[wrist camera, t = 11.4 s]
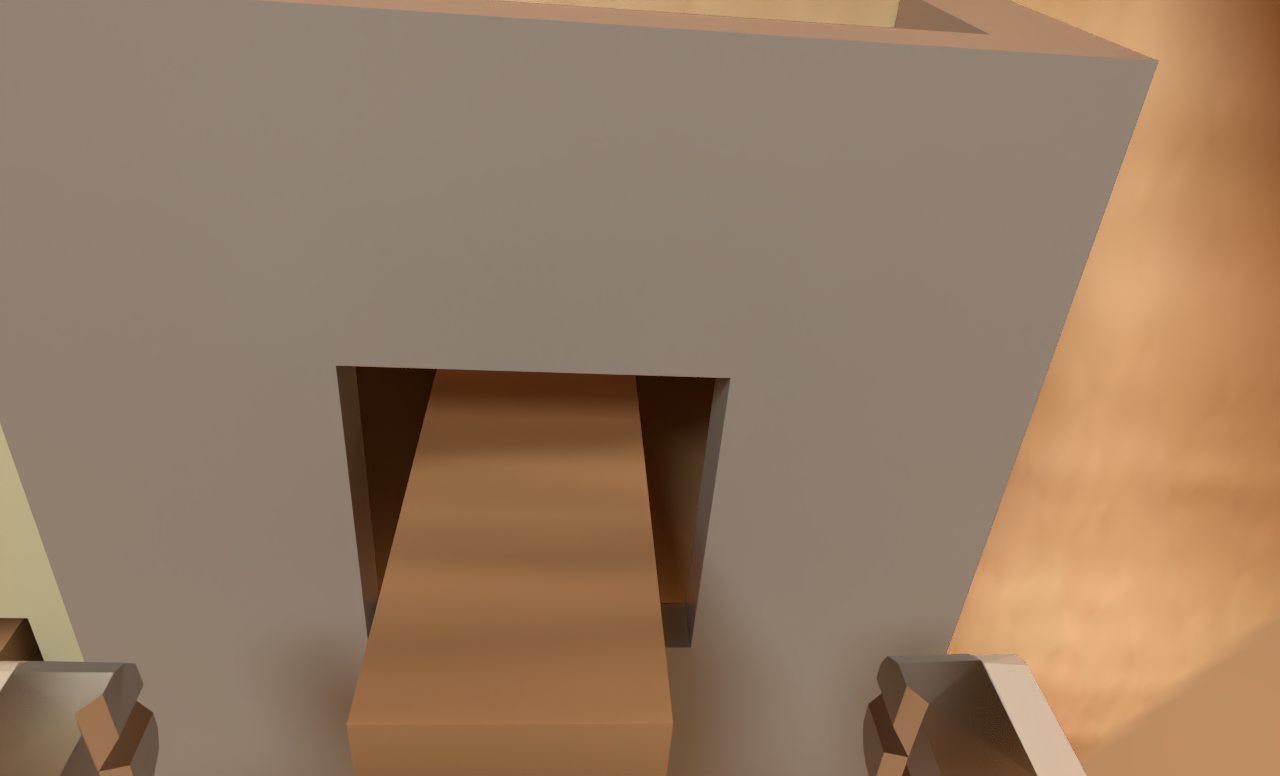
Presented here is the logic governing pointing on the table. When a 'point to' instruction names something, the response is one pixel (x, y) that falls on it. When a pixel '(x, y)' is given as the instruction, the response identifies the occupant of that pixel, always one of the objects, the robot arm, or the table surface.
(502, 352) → the hole bridge
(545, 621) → the pin long
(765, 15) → the table surface
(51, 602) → the peg rack
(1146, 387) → the table surface
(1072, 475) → the table surface
